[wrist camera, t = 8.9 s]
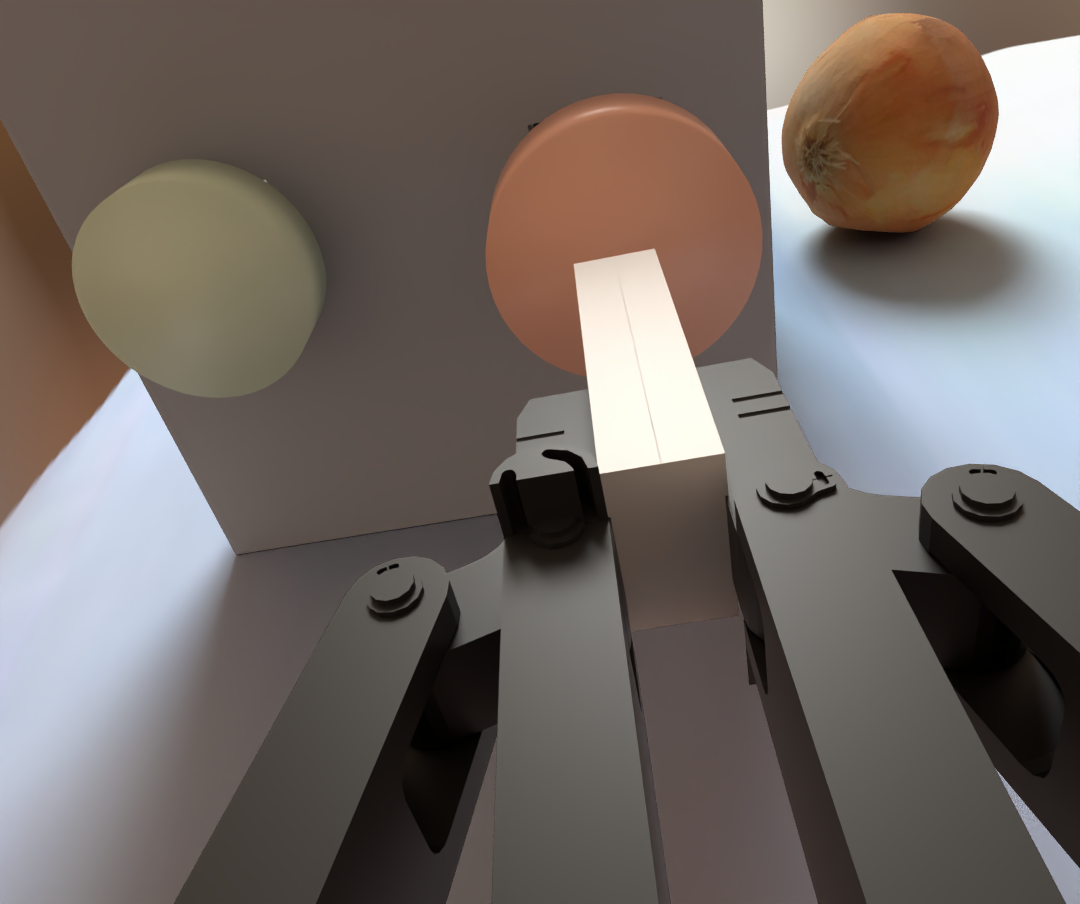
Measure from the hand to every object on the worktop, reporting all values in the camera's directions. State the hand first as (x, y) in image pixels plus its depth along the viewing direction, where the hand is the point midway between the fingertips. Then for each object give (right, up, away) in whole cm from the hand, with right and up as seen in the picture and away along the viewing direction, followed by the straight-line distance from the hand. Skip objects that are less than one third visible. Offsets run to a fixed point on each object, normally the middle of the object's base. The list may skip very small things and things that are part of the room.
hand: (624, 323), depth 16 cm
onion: (+16, +9, +27) cm, 33 cm away
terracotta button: (+1, +2, +7) cm, 8 cm away
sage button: (-10, +1, +11) cm, 15 cm away
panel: (-3, -4, +15) cm, 16 cm away
